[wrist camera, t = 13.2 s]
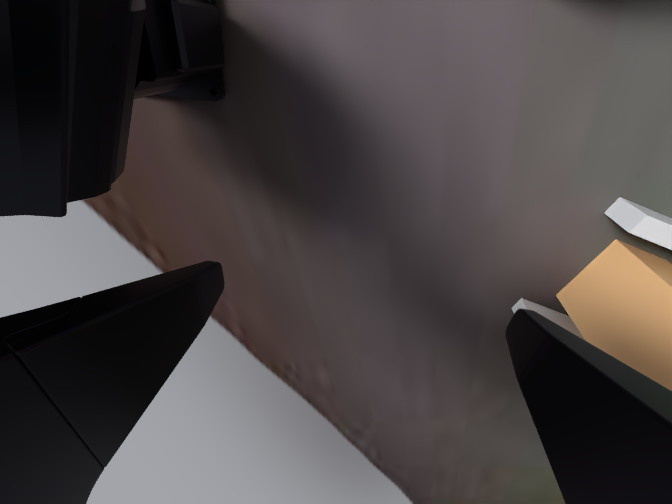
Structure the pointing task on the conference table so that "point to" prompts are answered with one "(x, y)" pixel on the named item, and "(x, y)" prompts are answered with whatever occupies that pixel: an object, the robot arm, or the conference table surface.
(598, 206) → the conference table surface
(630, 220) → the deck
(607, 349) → the tan block
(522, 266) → the conference table surface
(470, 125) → the conference table surface
